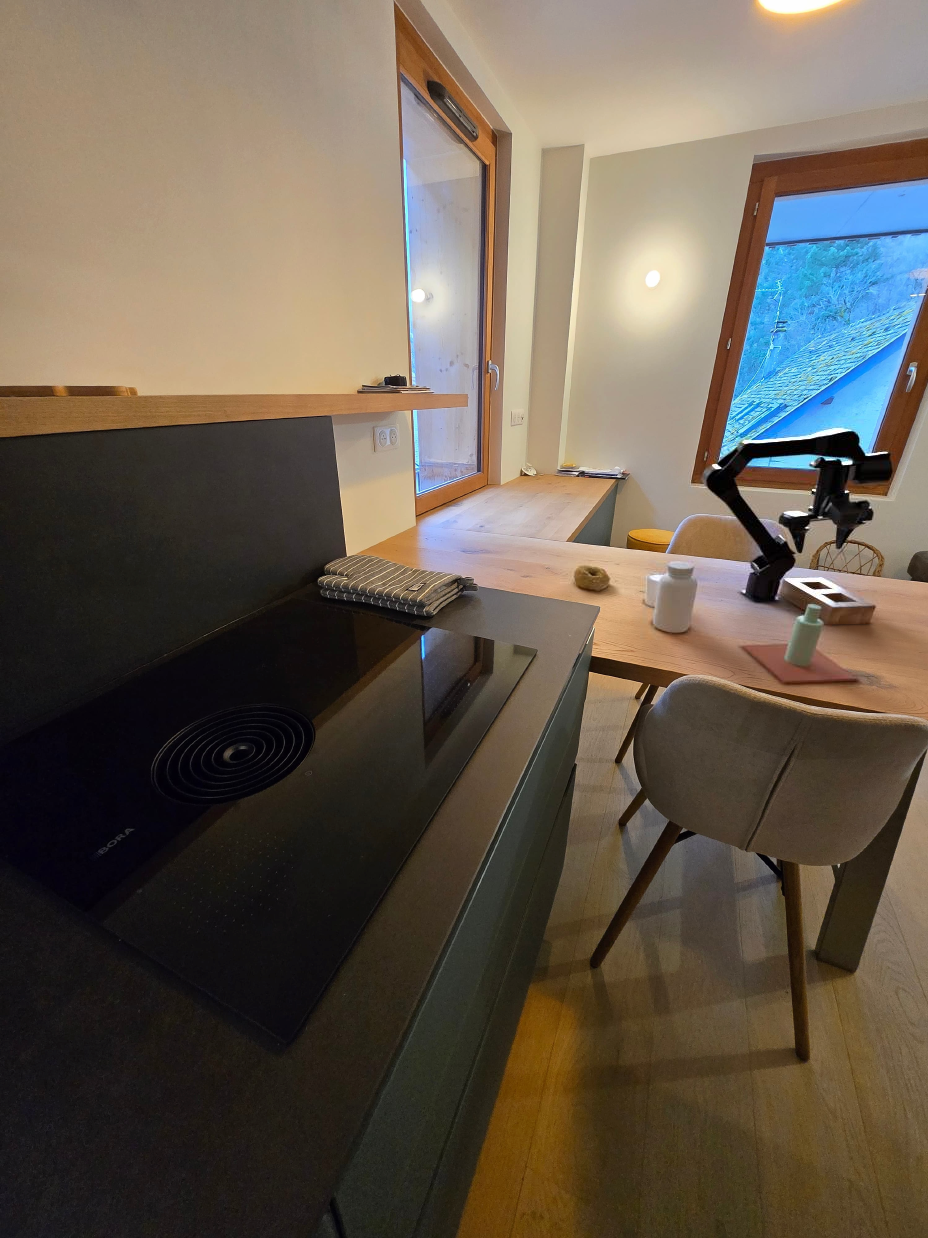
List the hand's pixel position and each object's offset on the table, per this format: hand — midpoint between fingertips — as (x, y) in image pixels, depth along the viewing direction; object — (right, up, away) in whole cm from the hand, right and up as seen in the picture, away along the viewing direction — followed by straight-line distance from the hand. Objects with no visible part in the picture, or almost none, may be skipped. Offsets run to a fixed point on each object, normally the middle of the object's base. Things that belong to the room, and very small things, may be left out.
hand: (818, 551), depth 121 cm
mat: (-21, -26, -22) cm, 39 cm away
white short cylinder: (-38, -13, +5) cm, 40 cm away
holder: (+1, -14, +1) cm, 14 cm away
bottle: (-20, -25, -22) cm, 39 cm away
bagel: (-51, -7, +18) cm, 55 cm away
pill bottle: (-39, -18, -6) cm, 44 cm away
